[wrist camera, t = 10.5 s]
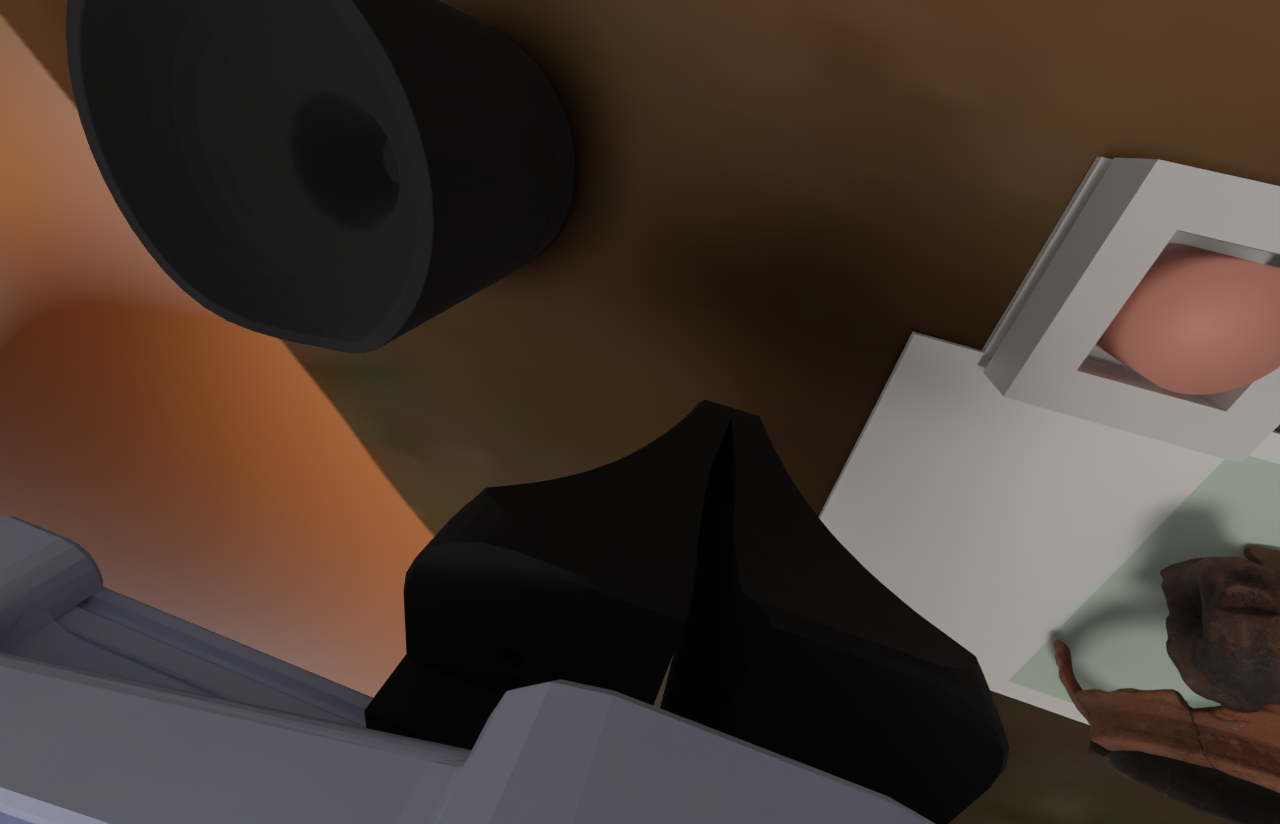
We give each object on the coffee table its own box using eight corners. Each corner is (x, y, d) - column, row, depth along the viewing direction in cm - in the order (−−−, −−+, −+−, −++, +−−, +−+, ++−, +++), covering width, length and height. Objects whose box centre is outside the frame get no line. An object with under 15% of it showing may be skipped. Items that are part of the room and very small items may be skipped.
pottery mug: (1391, 657, 20) (1455, 911, 16) (1079, 607, 27) (1072, 776, 23) (1426, 479, 15) (1538, 802, 11) (1023, 474, 22) (1001, 667, 18)
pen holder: (451, -63, 17) (111, -270, 8) (639, 164, 19) (514, 180, 10) (336, 154, 22) (39, 161, 13) (496, 320, 23) (327, 423, 15)
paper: (1313, 798, 24) (1318, 805, 24) (771, 608, 27) (771, 613, 27) (1755, 562, 16) (1771, 569, 16) (912, 331, 19) (914, 334, 19)
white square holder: (1175, 418, 18) (1240, 463, 16) (974, 362, 19) (1003, 396, 16) (1354, 214, 15) (1475, 229, 12) (1096, 156, 15) (1157, 159, 13)
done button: (1168, 367, 17) (1241, 410, 14) (1055, 337, 17) (1105, 373, 15) (1255, 260, 15) (1357, 286, 12) (1127, 230, 16) (1199, 248, 13)
